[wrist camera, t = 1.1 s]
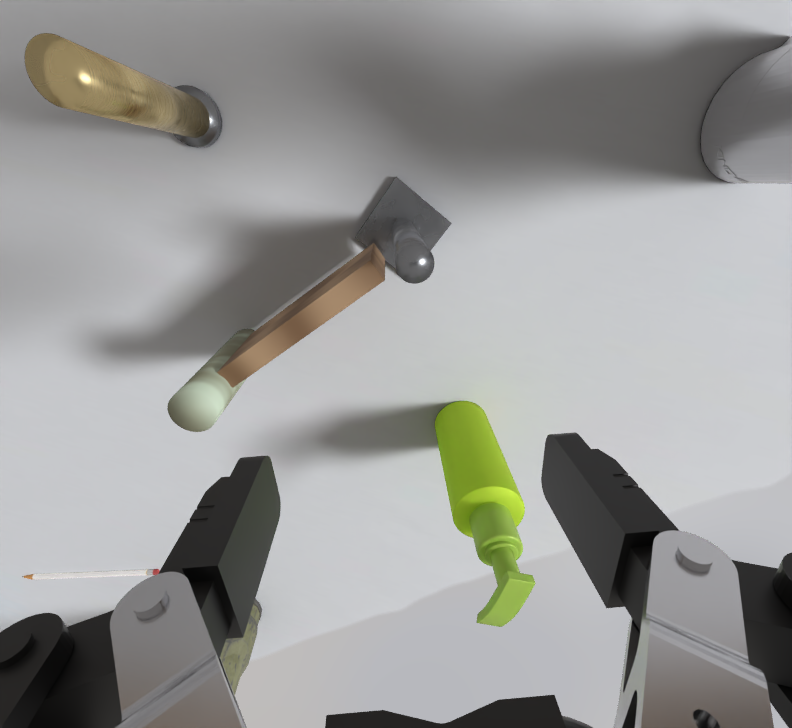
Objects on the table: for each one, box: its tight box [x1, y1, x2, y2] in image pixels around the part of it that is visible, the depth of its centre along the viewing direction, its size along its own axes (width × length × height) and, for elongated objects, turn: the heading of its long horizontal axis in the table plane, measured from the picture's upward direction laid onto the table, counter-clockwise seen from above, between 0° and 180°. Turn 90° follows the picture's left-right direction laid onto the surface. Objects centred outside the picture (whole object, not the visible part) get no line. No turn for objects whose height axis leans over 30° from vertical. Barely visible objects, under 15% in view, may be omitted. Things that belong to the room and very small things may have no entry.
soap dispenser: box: [435, 401, 535, 627], centre depth 34 cm, size 6×7×20 cm
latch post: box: [25, 33, 222, 148], centre depth 24 cm, size 4×4×14 cm
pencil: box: [22, 569, 160, 580], centre depth 52 cm, size 1×19×1 cm, turn 92°
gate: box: [168, 243, 385, 432], centre depth 30 cm, size 17×3×12 cm, turn 125°
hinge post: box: [355, 177, 451, 283], centre depth 27 cm, size 6×6×16 cm
